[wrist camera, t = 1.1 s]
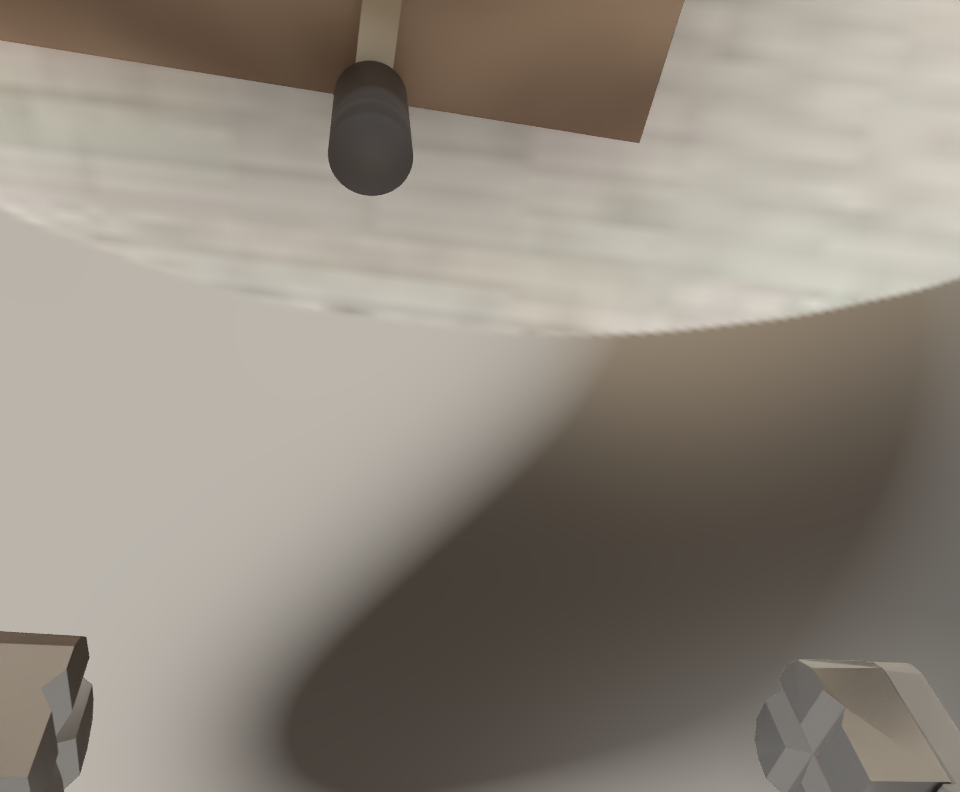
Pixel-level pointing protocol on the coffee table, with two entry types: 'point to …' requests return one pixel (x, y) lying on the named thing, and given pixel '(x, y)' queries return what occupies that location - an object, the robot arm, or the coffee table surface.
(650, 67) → the board
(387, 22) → the tuning crank
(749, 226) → the coffee table surface
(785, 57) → the coffee table surface
